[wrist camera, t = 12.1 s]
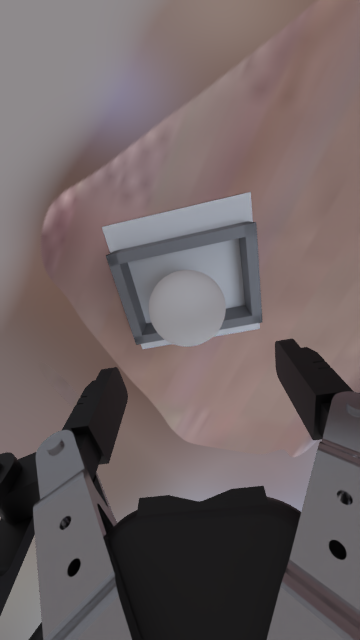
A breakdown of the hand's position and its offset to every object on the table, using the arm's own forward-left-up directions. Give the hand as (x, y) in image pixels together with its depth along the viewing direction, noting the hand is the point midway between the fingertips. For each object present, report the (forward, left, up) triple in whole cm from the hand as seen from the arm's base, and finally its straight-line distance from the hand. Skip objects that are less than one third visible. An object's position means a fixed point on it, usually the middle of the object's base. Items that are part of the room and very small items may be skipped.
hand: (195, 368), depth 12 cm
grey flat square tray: (0, 0, -16) cm, 16 cm away
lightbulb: (0, 0, -16) cm, 16 cm away
